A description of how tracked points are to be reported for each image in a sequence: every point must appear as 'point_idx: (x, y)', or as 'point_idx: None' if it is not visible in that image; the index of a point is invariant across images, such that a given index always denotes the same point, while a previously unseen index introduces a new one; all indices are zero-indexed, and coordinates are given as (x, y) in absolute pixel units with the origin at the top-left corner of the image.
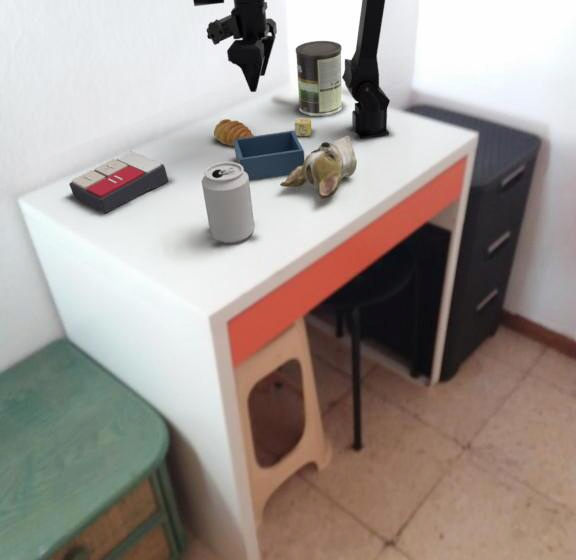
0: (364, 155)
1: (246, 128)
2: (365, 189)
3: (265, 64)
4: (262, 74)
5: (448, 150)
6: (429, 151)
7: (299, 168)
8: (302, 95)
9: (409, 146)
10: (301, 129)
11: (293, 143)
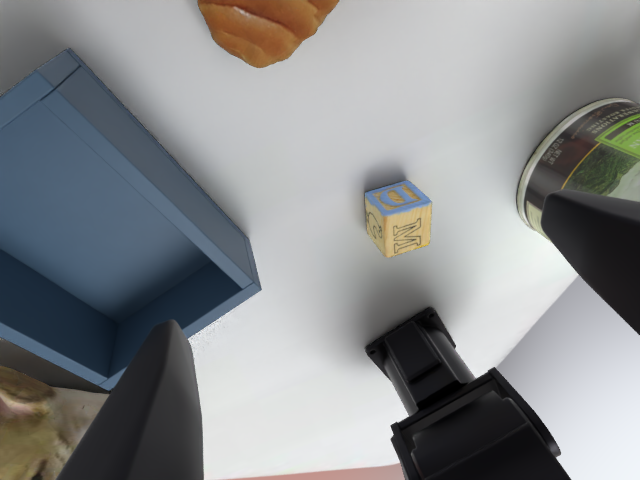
0: (279, 386)
1: (314, 8)
2: None
3: (616, 298)
4: (549, 220)
5: (338, 465)
6: (328, 451)
7: (10, 405)
8: (604, 162)
9: (344, 423)
10: (374, 224)
11: (205, 294)
